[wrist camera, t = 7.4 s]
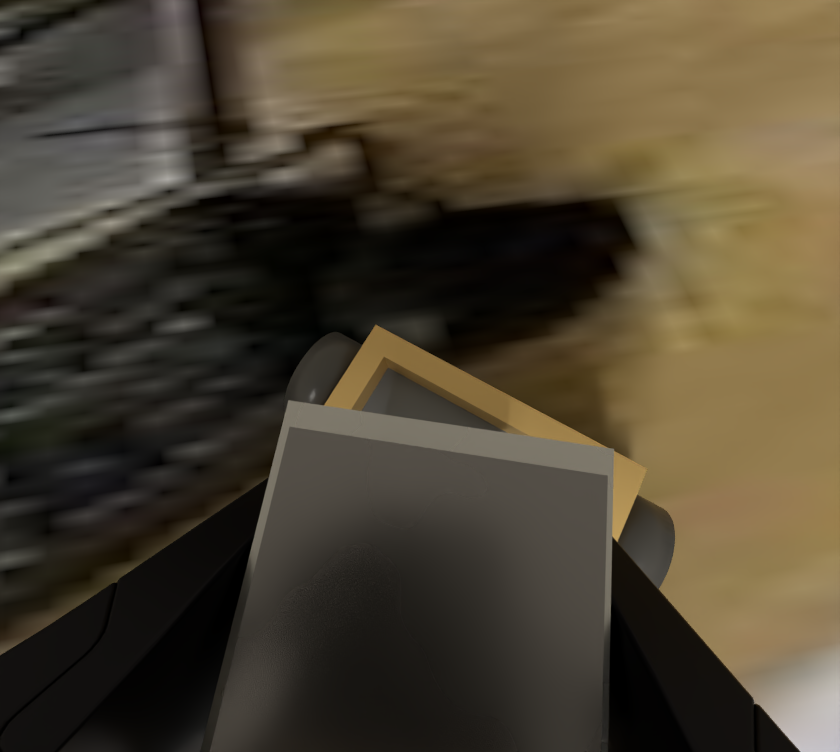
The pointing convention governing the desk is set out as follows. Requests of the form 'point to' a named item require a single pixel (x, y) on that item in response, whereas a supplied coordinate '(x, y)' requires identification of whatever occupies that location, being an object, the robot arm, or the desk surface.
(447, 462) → the grey block
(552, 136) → the desk surface
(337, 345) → the truck
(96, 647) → the robot arm
